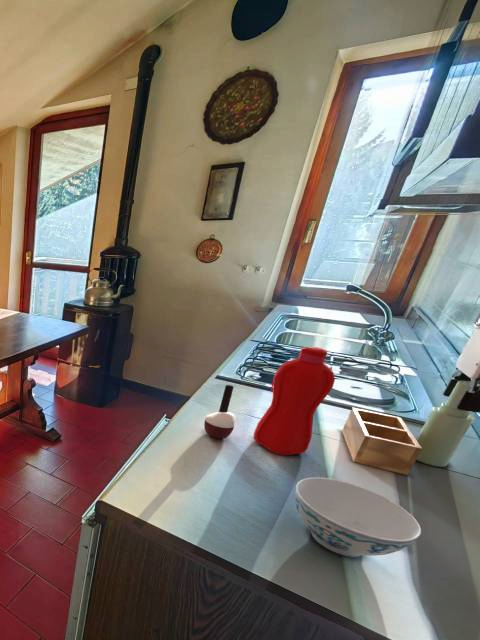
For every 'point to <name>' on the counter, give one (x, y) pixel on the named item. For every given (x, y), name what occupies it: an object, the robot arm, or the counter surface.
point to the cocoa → (221, 418)
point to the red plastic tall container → (295, 402)
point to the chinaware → (353, 518)
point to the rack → (380, 441)
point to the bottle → (444, 429)
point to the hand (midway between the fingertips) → (460, 403)
